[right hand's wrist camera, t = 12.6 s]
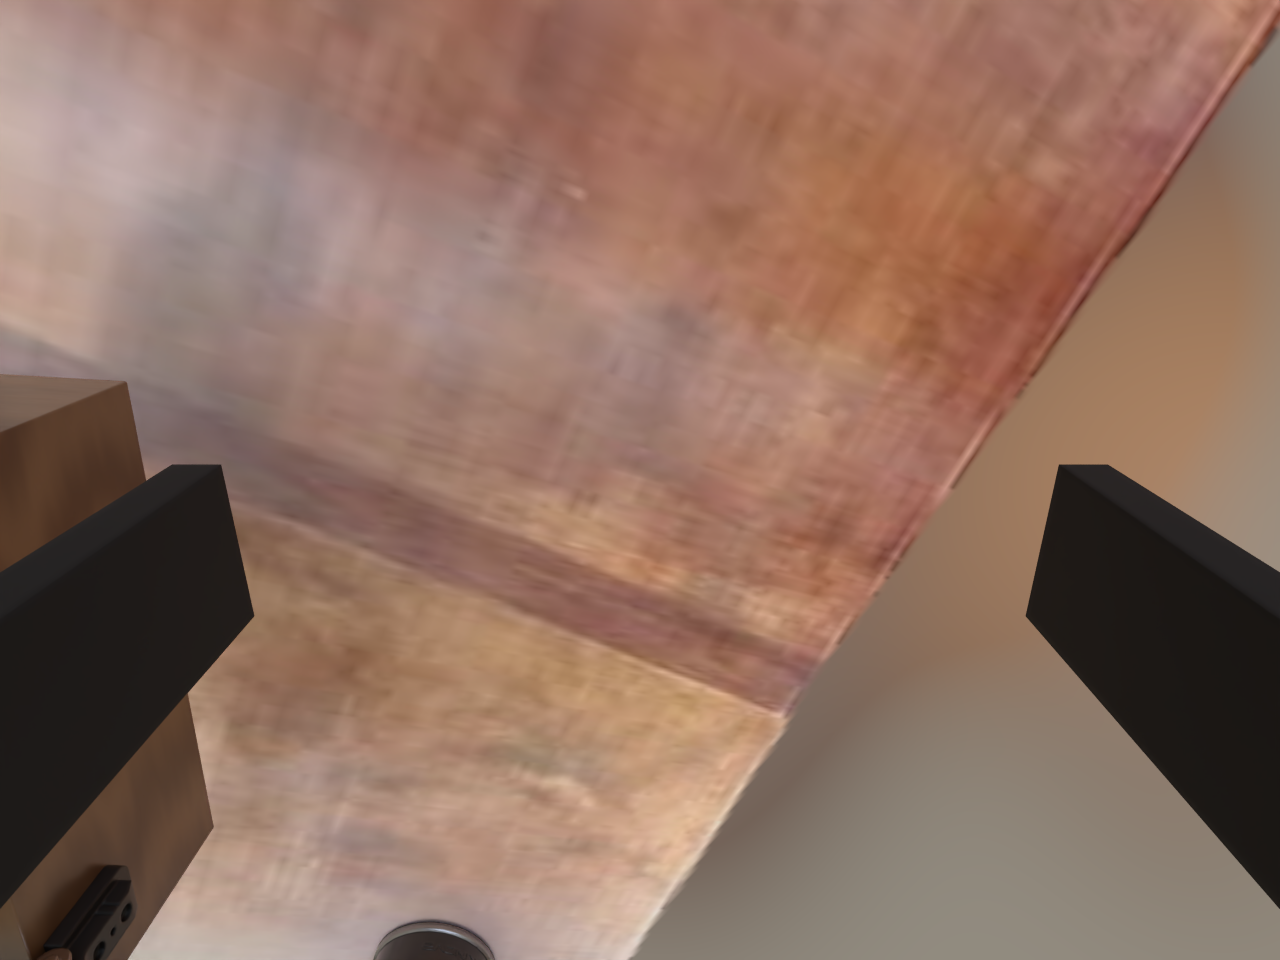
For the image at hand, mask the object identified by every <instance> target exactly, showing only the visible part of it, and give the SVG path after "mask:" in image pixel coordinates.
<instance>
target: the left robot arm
mask: <svg viewBox="0 0 1280 960" xmlns="http://www.w3.org/2000/svg"><path fill="white" fill-rule="evenodd" d="M137 908H138V904H137V900H136V896H135V893H134V888H133V884H132V880H131V877H130V873H129V869H128V867H127V866H125V865H106V866H105V867H104V868H103V869H102V870H101V871H100V873H99V874H98V875H97V876H96V878H95V879H94V880H93V882H92V883H91V884H90V885H89V887H88V888H87V889H86V891H85V892H84V893H83V895H82V896H81V897H80V898H79V900H78V901H77V902H76V904H75V905H74V906H73V907H72V909H71V910H70V911H69V913H68V914H67V915H66V917H65V918H64V919H63V920H62V922H61V923H60V924H59V926H58V927H57V928H56V929H55V931H54V932H53V933H52V935H51V936H50V937H49V938H48V940H47V941H46V942H45V944H44V945H43V947H44V950H45V953H44V954H42V955H41V956H40V957H38V958H37V959H36V960H107V958H108V957H109V955H110V954H111V952H112V951H113V949H114V948H115V946H116V945H117V943H118V942H119V939H121V938H122V936H123V935H124V933H125V931H126V930H127V929H128V927H129V926H130V924H131V923H132V921H133V920H134V918H135V916H136V912H137ZM374 960H494V958H493V955H492V953H491V951H490V950H489V948H488V947H487V946H486V945H485V944H484V943H483V942H482V941H481V940H480V939H479V938H478V937H476V936H475V935H473V934H472V933H470V932H468V931H466V930H464V929H461V928H459V927H456V926H453V925H448V924H443V923H435V922H424V923H415V924H410V925H407V926H404V927H401V928H399V929H397V930H395V931H393V932H391V933H390V934H389V935H387V936H386V937H385V938H384V939H383V940H382V941H381V943H380V944H379V946H378V948H377V950H376V953H375V956H374Z"/></svg>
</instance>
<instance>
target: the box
mask: <svg viewBox="0 0 1280 960" xmlns="http://www.w3.org/2000/svg"><path fill="white" fill-rule="evenodd" d="M145 481H146V478H145V473H144V468H143V463H142V457H141V452H140V447H139V442H138V437H137V432H136V427H135V422H134V416H133V411H132V406H131V401H130V396H129V391H128V386H127V382H125V381H109V380H92V379H75V378H57V377H40V376H23V375H6V374H0V572H2V571H3V570H5V569H6V568H8V567H10V566H11V565H13V564H14V563H16V562H18V561H19V560H21V559H22V558H24V557H26V556H27V555H29V554H30V553H32V552H34V551H35V550H37V549H38V548H40V547H42V546H43V545H45V544H46V543H48V542H49V541H51V540H53V539H54V538H56V537H57V536H59V535H61V534H62V533H64V532H65V531H67V530H69V529H70V528H72V527H73V526H75V525H77V524H78V523H80V522H81V521H83V520H85V519H86V518H88V517H89V516H91V515H93V514H94V513H96V512H97V511H99V510H101V509H102V508H104V507H105V506H107V505H109V504H110V503H112V502H113V501H115V500H117V499H118V498H120V497H121V496H123V495H124V494H126V493H128V492H129V491H131V490H132V489H134V488H136V487H137V486H139V485H140V484H142V483H144V482H145ZM212 829H213V821H212V816H211V811H210V806H209V801H208V796H207V790H206V785H205V780H204V775H203V770H202V765H201V760H200V755H199V749H198V744H197V739H196V734H195V729H194V724H193V719H192V714H191V709H190V703H189V698H188V693H187V694H186V695H185V697H184V698H183V699H182V700H181V701H180V702H179V703H178V705H177V706H176V707H175V708H174V709H173V710H172V712H171V713H170V714H169V715H168V716H167V717H166V718H165V720H164V721H163V722H162V723H161V724H160V725H159V727H158V728H157V729H156V730H155V731H154V732H153V733H152V735H151V736H150V737H149V738H148V739H147V740H146V742H145V743H144V744H143V745H142V746H141V747H140V748H139V750H138V751H137V752H136V753H135V754H134V755H133V757H132V758H131V759H130V760H129V761H128V762H127V763H126V765H125V766H124V767H123V768H122V769H121V770H120V772H119V773H118V774H117V775H116V776H115V777H114V778H113V780H112V781H111V782H110V783H109V784H108V785H107V787H106V788H105V789H104V790H103V791H102V792H101V793H100V795H99V796H98V797H97V798H96V799H95V800H94V801H93V803H92V804H91V805H90V806H89V807H88V808H87V810H86V811H85V812H84V813H83V814H82V815H81V816H80V818H79V819H78V820H77V821H76V822H75V823H74V825H73V826H72V827H71V828H70V829H69V830H68V831H67V833H66V834H65V835H64V836H63V837H62V838H61V840H60V841H59V842H58V843H57V844H56V845H55V846H54V848H53V849H52V850H51V851H50V852H49V853H48V855H47V856H46V857H45V858H44V859H43V860H42V861H41V863H40V864H39V865H38V866H37V867H36V868H35V870H34V871H33V872H32V873H31V874H30V875H29V876H28V878H27V879H26V880H25V881H24V882H23V883H22V884H21V886H20V887H19V888H18V889H17V890H16V891H15V893H14V894H13V895H12V896H11V897H10V898H9V899H8V901H7V902H6V903H5V904H4V905H3V906H2V908H1V909H0V960H36V959H37V958H38V957H40V956H41V955H42V954H44V953H45V950H44V947H43V945H44V944H45V942H46V941H47V940H48V938H49V937H50V936H51V935H52V933H53V932H54V931H55V929H56V928H57V927H58V926H59V924H60V923H61V922H62V920H63V919H64V918H65V917H66V915H67V914H68V913H69V911H70V910H71V909H72V907H73V906H74V905H75V904H76V902H77V901H78V900H79V898H80V897H81V896H82V895H83V893H84V892H85V891H86V889H87V888H88V887H89V885H90V884H91V883H92V882H93V880H94V879H95V878H96V876H97V875H98V874H99V873H100V871H101V870H102V869H103V868H104V867H105V866H106V865H125V866H127V867H128V869H129V873H130V877H131V880H132V884H133V888H134V893H135V896H136V900H137V904H138V908H137V912H136V916H135V918H134V920H133V921H132V923H131V924H130V926H129V927H128V929H127V930H126V931H125V933H124V935H123V936H122V938H121V939H119V942H118V943H117V945H116V946H115V948H114V949H113V951H112V952H111V954H110V955H109V957H108V958H107V960H128V958H129V957H130V955H131V953H132V952H133V950H134V949H135V947H136V946H137V944H138V943H139V941H140V940H141V938H142V937H143V935H144V934H145V932H146V930H147V929H148V927H149V926H150V924H151V923H152V921H153V920H154V918H155V917H156V915H157V914H158V912H159V910H160V909H161V907H162V906H163V904H164V903H165V901H166V900H167V898H168V897H169V895H170V894H171V892H172V890H173V889H174V887H175V886H176V884H177V883H178V881H179V880H180V878H181V877H182V875H183V874H184V872H185V870H186V869H187V867H188V866H189V864H190V863H191V861H192V860H193V858H194V857H195V855H196V854H197V852H198V851H199V849H200V847H201V846H202V844H203V843H204V841H205V840H206V838H207V837H208V835H209V834H210V832H211V831H212Z"/></svg>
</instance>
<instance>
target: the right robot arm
mask: <svg viewBox="0 0 1280 960" xmlns="http://www.w3.org/2000/svg"><path fill="white" fill-rule="evenodd" d="M253 617H254V612H253V608H252V603H251V599H250V594H249V590H248V585H247V581H246V576H245V571H244V567H243V562H242V558H241V553H240V549H239V544H238V540H237V535H236V530H235V526H234V521H233V517H232V512H231V508H230V503H229V499H228V494H227V490H226V485H225V480H224V476H223V471H222V467H221V465H171V466H169V467H168V468H166V469H164V470H163V471H161V472H160V473H158V474H156V475H155V476H153V477H152V478H150V479H148V480H147V481H145V482H144V483H142V484H140V485H139V486H137V487H136V488H134V489H132V490H131V491H129V492H128V493H126V494H124V495H123V496H121V497H120V498H118V499H117V500H115V501H113V502H112V503H110V504H109V505H107V506H105V507H104V508H102V509H101V510H99V511H97V512H96V513H94V514H93V515H91V516H89V517H88V518H86V519H85V520H83V521H81V522H80V523H78V524H77V525H75V526H73V527H72V528H70V529H69V530H67V531H65V532H64V533H62V534H61V535H59V536H57V537H56V538H54V539H53V540H51V541H49V542H48V543H46V544H45V545H43V546H42V547H40V548H38V549H37V550H35V551H34V552H32V553H30V554H29V555H27V556H26V557H24V558H22V559H21V560H19V561H18V562H16V563H14V564H13V565H11V566H10V567H8V568H6V569H5V570H3V571H2V572H0V909H1V908H2V906H3V905H4V904H5V903H6V902H7V901H8V899H9V898H10V897H11V896H12V895H13V894H14V893H15V891H16V890H17V889H18V888H19V887H20V886H21V884H22V883H23V882H24V881H25V880H26V879H27V878H28V876H29V875H30V874H31V873H32V872H33V871H34V870H35V868H36V867H37V866H38V865H39V864H40V863H41V861H42V860H43V859H44V858H45V857H46V856H47V855H48V853H49V852H50V851H51V850H52V849H53V848H54V846H55V845H56V844H57V843H58V842H59V841H60V840H61V838H62V837H63V836H64V835H65V834H66V833H67V831H68V830H69V829H70V828H71V827H72V826H73V825H74V823H75V822H76V821H77V820H78V819H79V818H80V816H81V815H82V814H83V813H84V812H85V811H86V810H87V808H88V807H89V806H90V805H91V804H92V803H93V801H94V800H95V799H96V798H97V797H98V796H99V795H100V793H101V792H102V791H103V790H104V789H105V788H106V787H107V785H108V784H109V783H110V782H111V781H112V780H113V778H114V777H115V776H116V775H117V774H118V773H119V772H120V770H121V769H122V768H123V767H124V766H125V765H126V763H127V762H128V761H129V760H130V759H131V758H132V757H133V755H134V754H135V753H136V752H137V751H138V750H139V748H140V747H141V746H142V745H143V744H144V743H145V742H146V740H147V739H148V738H149V737H150V736H151V735H152V733H153V732H154V731H155V730H156V729H157V728H158V727H159V725H160V724H161V723H162V722H163V721H164V720H165V718H166V717H167V716H168V715H169V714H170V713H171V712H172V710H173V709H174V708H175V707H176V706H177V705H178V703H179V702H180V701H181V700H182V699H183V698H184V697H185V695H186V694H187V693H188V692H189V691H190V690H191V689H192V687H193V686H194V685H195V684H196V683H197V682H198V680H199V679H200V678H201V677H202V676H203V675H204V674H205V672H206V671H207V670H208V669H209V668H210V667H211V665H212V664H213V663H214V662H215V661H216V660H217V659H218V657H219V656H220V655H221V654H222V653H223V652H224V650H225V649H226V648H227V647H228V646H229V645H230V644H231V642H232V641H233V640H234V639H235V638H236V637H237V635H238V634H239V633H240V632H241V631H242V630H243V629H244V627H245V626H246V625H247V624H248V623H249V622H250V620H251V619H252V618H253ZM1026 617H1027V618H1028V619H1029V620H1030V622H1031V623H1032V624H1033V625H1034V626H1035V627H1036V629H1037V630H1038V631H1039V632H1040V633H1041V634H1042V635H1043V637H1044V638H1045V639H1046V640H1047V641H1048V642H1049V644H1050V645H1051V646H1052V647H1053V648H1054V649H1055V650H1056V652H1057V653H1058V654H1059V655H1060V656H1061V657H1062V659H1063V660H1064V661H1065V662H1066V663H1067V664H1068V665H1069V667H1070V668H1071V669H1072V670H1073V671H1074V672H1075V674H1076V675H1077V676H1078V677H1079V678H1080V679H1081V680H1082V682H1083V683H1084V684H1085V685H1086V686H1087V687H1088V689H1089V690H1090V691H1091V692H1092V693H1093V694H1094V695H1095V697H1096V698H1097V699H1098V700H1099V701H1100V702H1101V703H1102V705H1103V706H1104V707H1105V708H1106V709H1107V710H1108V712H1109V713H1110V714H1111V715H1112V716H1113V717H1114V718H1115V720H1116V721H1117V722H1118V723H1119V724H1120V725H1121V727H1122V728H1123V729H1124V730H1125V731H1126V732H1127V733H1128V735H1129V736H1130V737H1131V738H1132V739H1133V740H1134V742H1135V743H1136V744H1137V745H1138V746H1139V747H1140V748H1141V750H1142V751H1143V752H1144V753H1145V754H1146V755H1147V757H1148V758H1149V759H1150V760H1151V761H1152V762H1153V763H1154V765H1155V766H1156V767H1157V768H1158V769H1159V770H1160V771H1161V773H1162V774H1163V775H1164V776H1165V777H1166V778H1167V780H1168V781H1169V782H1170V783H1171V784H1172V785H1173V787H1174V788H1175V789H1176V790H1177V791H1178V792H1179V793H1180V795H1181V796H1182V797H1183V798H1184V799H1185V800H1186V801H1187V803H1188V804H1189V805H1190V806H1191V807H1192V808H1193V809H1194V811H1195V812H1196V813H1197V814H1198V815H1199V816H1200V818H1201V819H1202V820H1203V821H1204V822H1205V823H1206V824H1207V826H1208V827H1209V828H1210V829H1211V830H1212V831H1213V833H1214V834H1215V835H1216V836H1217V837H1218V838H1219V839H1220V841H1221V842H1222V843H1223V844H1224V845H1225V846H1226V848H1227V849H1228V850H1229V851H1230V852H1231V853H1232V855H1233V856H1234V857H1235V858H1236V859H1237V860H1238V861H1239V863H1240V864H1241V865H1242V866H1243V867H1244V868H1245V870H1246V871H1247V872H1248V873H1249V874H1250V875H1251V876H1252V878H1253V879H1254V880H1255V881H1256V882H1257V883H1258V884H1259V886H1260V887H1261V888H1262V889H1263V890H1264V891H1265V893H1266V894H1267V895H1268V896H1269V897H1270V898H1271V899H1272V901H1273V902H1274V903H1275V904H1276V905H1277V906H1278V908H1279V909H1280V572H1278V571H1277V570H1275V569H1274V568H1272V567H1270V566H1269V565H1267V564H1266V563H1264V562H1262V561H1261V560H1259V559H1258V558H1256V557H1254V556H1253V555H1251V554H1250V553H1248V552H1246V551H1245V550H1243V549H1242V548H1240V547H1238V546H1237V545H1235V544H1234V543H1232V542H1231V541H1229V540H1227V539H1226V538H1224V537H1223V536H1221V535H1219V534H1218V533H1216V532H1215V531H1213V530H1211V529H1210V528H1208V527H1207V526H1205V525H1203V524H1202V523H1200V522H1199V521H1197V520H1195V519H1194V518H1192V517H1191V516H1189V515H1187V514H1186V513H1184V512H1183V511H1181V510H1179V509H1178V508H1176V507H1175V506H1173V505H1171V504H1170V503H1168V502H1167V501H1165V500H1163V499H1162V498H1160V497H1159V496H1157V495H1156V494H1154V493H1152V492H1151V491H1149V490H1147V489H1146V488H1144V487H1143V486H1141V485H1139V484H1138V483H1136V482H1135V481H1133V480H1132V479H1130V478H1128V477H1127V476H1125V475H1124V474H1122V473H1120V472H1119V471H1117V470H1116V469H1114V468H1112V467H1111V466H1109V465H1059V467H1058V471H1057V476H1056V480H1055V485H1054V490H1053V494H1052V499H1051V503H1050V508H1049V512H1048V517H1047V521H1046V526H1045V530H1044V535H1043V540H1042V544H1041V549H1040V553H1039V558H1038V562H1037V567H1036V571H1035V576H1034V581H1033V585H1032V590H1031V594H1030V599H1029V604H1028V608H1027V613H1026Z"/></svg>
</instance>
